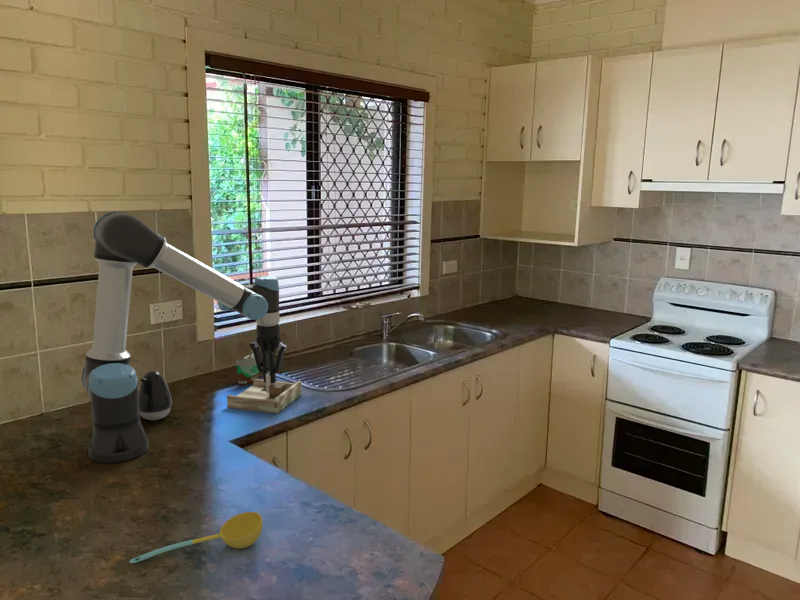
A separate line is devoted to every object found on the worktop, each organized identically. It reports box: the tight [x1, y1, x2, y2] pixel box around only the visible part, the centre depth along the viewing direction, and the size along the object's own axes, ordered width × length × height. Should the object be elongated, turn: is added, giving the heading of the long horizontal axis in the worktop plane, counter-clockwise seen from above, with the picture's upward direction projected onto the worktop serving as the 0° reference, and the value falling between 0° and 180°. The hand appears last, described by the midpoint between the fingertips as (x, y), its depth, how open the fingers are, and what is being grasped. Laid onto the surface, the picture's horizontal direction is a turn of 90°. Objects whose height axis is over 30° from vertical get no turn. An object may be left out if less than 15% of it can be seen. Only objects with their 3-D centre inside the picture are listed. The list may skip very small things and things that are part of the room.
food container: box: [235, 350, 260, 387], centre depth 226 cm, size 12×6×10 cm, turn 168°
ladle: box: [130, 511, 263, 564], centre depth 126 cm, size 9×26×6 cm, turn 109°
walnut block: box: [269, 383, 286, 399], centre depth 206 cm, size 4×4×4 cm
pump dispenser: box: [138, 370, 173, 421], centre depth 192 cm, size 10×10×15 cm
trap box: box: [226, 378, 302, 415], centre depth 208 cm, size 18×18×5 cm
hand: (270, 391), depth 207 cm, fingers closed
